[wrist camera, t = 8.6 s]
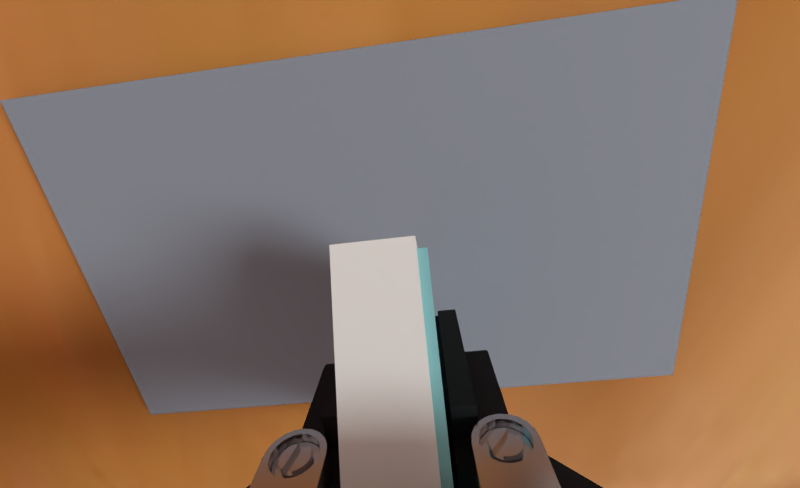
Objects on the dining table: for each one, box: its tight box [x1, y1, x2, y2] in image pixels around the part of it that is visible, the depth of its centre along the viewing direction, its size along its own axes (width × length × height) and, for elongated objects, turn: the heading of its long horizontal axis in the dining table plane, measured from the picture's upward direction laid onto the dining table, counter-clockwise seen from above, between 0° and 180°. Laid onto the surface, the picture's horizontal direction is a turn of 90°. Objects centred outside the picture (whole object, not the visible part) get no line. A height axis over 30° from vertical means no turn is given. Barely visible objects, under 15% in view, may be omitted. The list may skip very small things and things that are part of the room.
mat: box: [1, 0, 737, 415], centre depth 13 cm, size 13×22×1 cm, turn 97°
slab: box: [329, 236, 454, 488], centre depth 10 cm, size 7×2×6 cm
